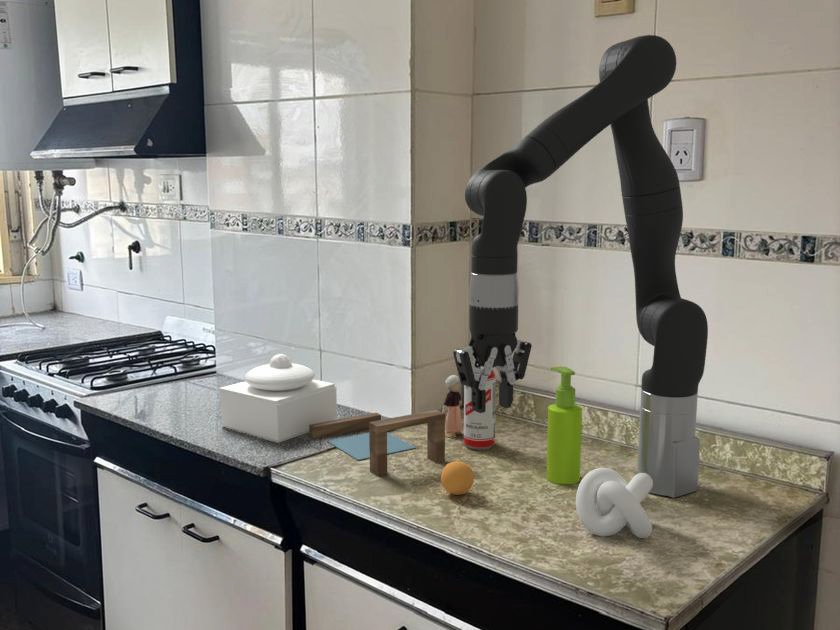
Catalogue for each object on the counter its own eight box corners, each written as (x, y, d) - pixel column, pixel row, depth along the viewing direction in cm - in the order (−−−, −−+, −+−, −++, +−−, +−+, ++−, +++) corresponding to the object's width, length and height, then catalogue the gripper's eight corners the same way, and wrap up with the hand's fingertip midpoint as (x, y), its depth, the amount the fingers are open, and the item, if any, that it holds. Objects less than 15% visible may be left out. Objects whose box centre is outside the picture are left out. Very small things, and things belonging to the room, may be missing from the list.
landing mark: (416, 448, 163) (416, 447, 163) (358, 460, 156) (358, 459, 156) (383, 431, 174) (383, 430, 174) (327, 442, 167) (327, 441, 167)
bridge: (444, 460, 156) (444, 413, 154) (377, 476, 148) (377, 426, 146) (436, 456, 158) (436, 409, 157) (369, 471, 151) (369, 422, 149)
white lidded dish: (278, 444, 166) (275, 367, 164) (220, 427, 177) (217, 355, 174) (337, 423, 180) (336, 352, 178) (280, 409, 191) (278, 342, 188)
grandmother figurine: (457, 440, 168) (457, 380, 165) (439, 438, 169) (439, 378, 167) (467, 429, 175) (467, 371, 173) (450, 427, 176) (450, 370, 174)
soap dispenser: (565, 468, 151) (568, 363, 148) (586, 481, 145) (589, 371, 142) (537, 473, 149) (540, 366, 146) (557, 486, 143) (560, 374, 139)
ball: (480, 495, 139) (480, 463, 138) (453, 502, 136) (453, 470, 135) (461, 485, 144) (461, 454, 143) (434, 491, 141) (434, 460, 140)
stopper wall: (381, 425, 177) (381, 414, 177) (313, 438, 169) (313, 427, 168) (376, 423, 179) (376, 412, 179) (309, 436, 171) (309, 424, 170)
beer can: (493, 451, 161) (494, 372, 158) (461, 449, 162) (461, 370, 159) (496, 441, 167) (497, 364, 164) (466, 439, 168) (466, 363, 165)
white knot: (605, 507, 134) (607, 455, 133) (674, 529, 126) (677, 473, 124) (566, 529, 126) (568, 473, 125) (637, 553, 118) (639, 494, 116)
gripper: (470, 309, 119) (469, 422, 122) (545, 301, 127) (543, 408, 130) (441, 302, 125) (441, 410, 128) (514, 295, 133) (513, 397, 136)
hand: (492, 408), depth 129 cm, fingers open, 4 cm apart
